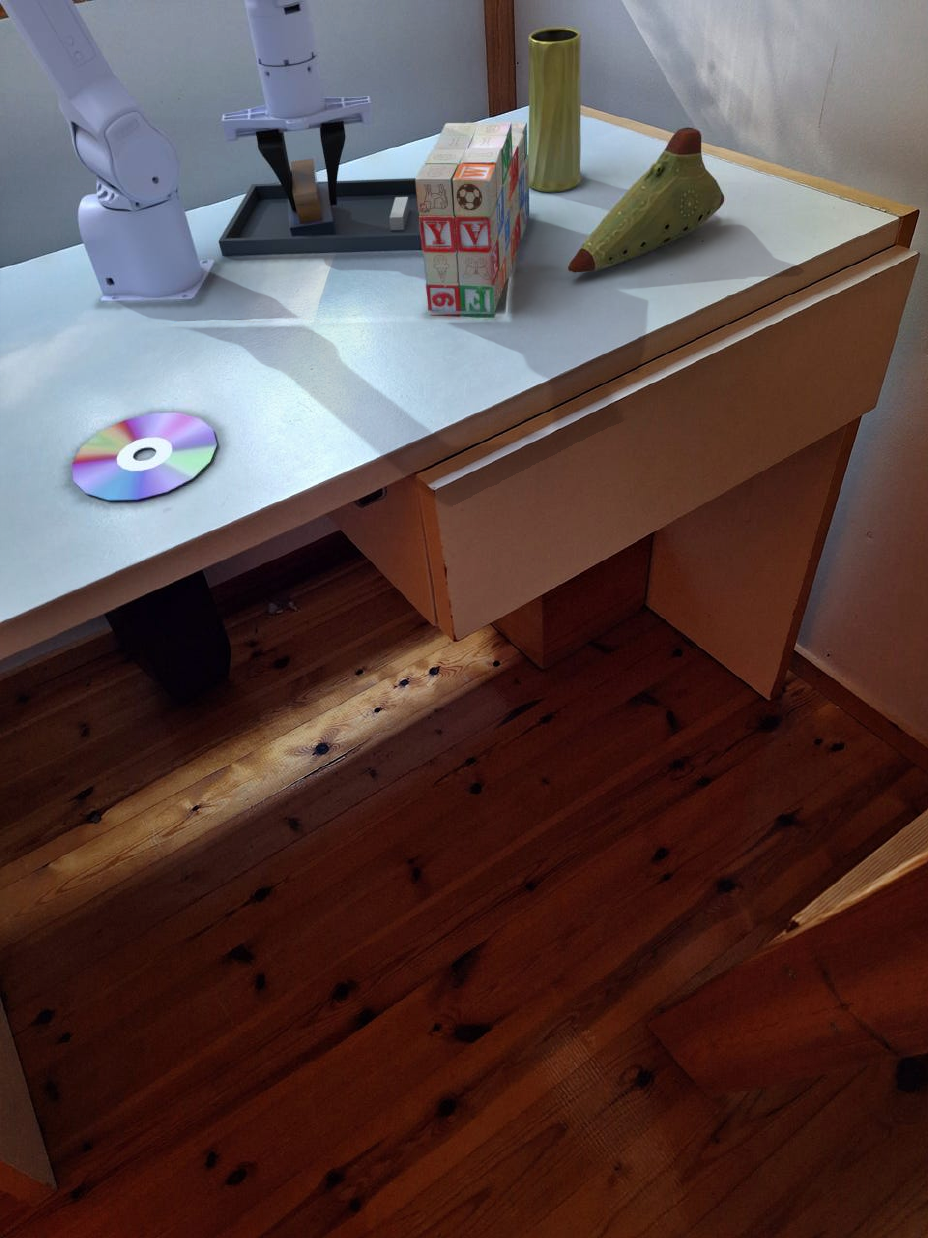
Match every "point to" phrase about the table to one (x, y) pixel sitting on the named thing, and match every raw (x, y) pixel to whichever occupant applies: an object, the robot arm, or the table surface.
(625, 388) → the table surface
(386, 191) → the tray
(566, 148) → the vase
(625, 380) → the table surface
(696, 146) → the ocarina
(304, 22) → the robot arm
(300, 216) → the eraser
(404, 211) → the chalk
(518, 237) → the stack of blocks
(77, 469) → the cd
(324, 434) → the table surface
